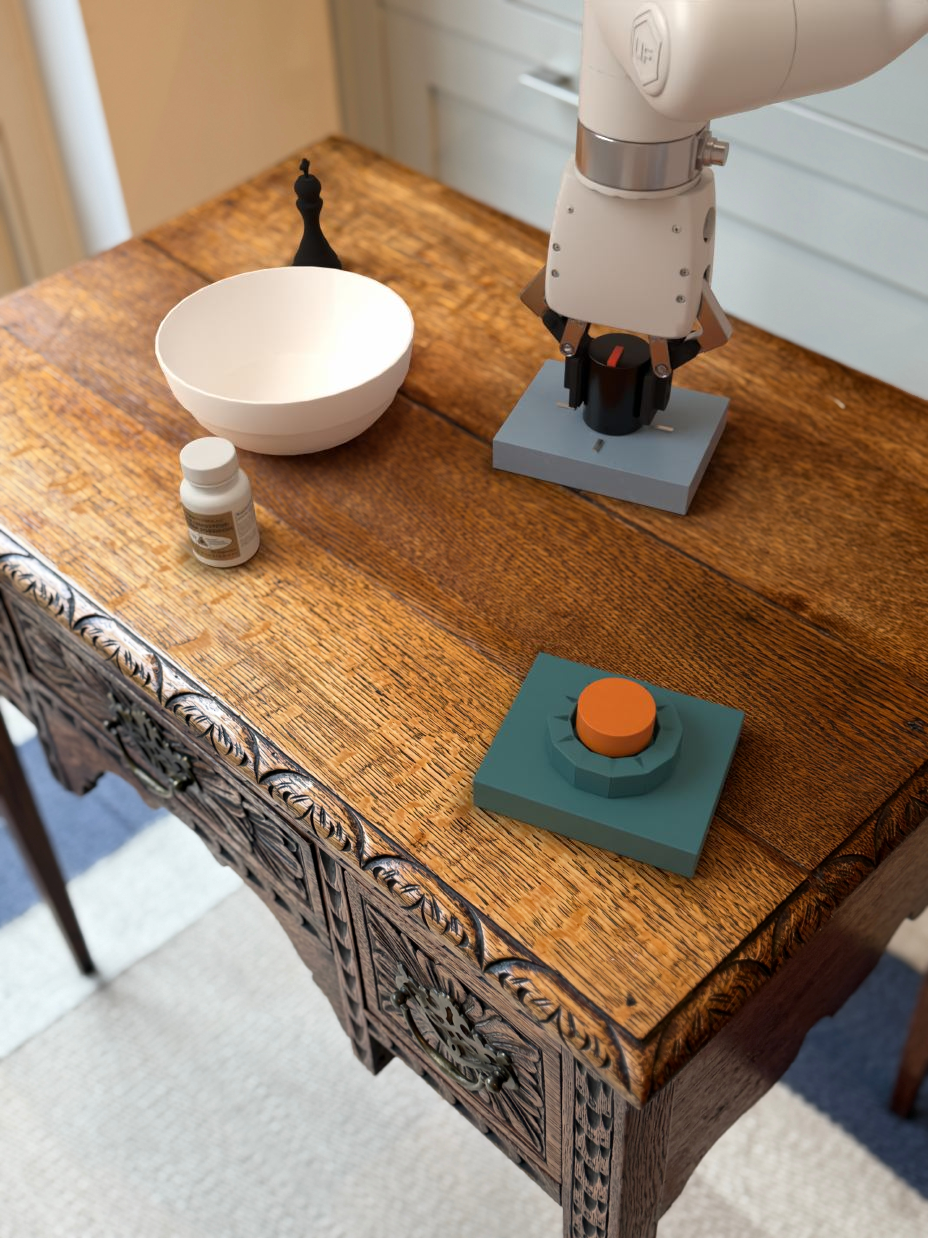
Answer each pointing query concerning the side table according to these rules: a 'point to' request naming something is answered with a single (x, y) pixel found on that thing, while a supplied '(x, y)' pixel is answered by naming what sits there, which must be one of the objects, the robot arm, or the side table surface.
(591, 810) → the button block
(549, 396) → the dial base
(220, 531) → the pill bottle
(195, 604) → the side table surface
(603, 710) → the button
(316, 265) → the chess piece
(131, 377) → the side table surface
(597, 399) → the dial knob
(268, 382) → the bowl
